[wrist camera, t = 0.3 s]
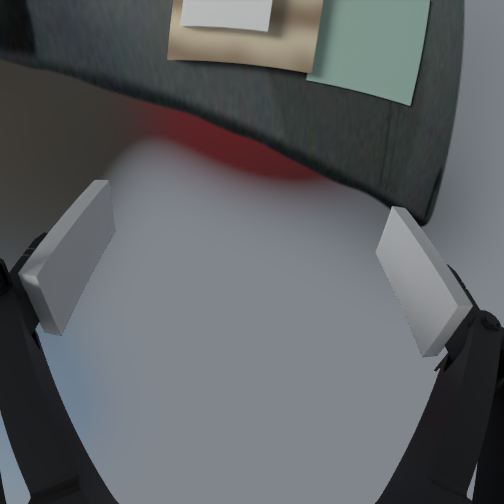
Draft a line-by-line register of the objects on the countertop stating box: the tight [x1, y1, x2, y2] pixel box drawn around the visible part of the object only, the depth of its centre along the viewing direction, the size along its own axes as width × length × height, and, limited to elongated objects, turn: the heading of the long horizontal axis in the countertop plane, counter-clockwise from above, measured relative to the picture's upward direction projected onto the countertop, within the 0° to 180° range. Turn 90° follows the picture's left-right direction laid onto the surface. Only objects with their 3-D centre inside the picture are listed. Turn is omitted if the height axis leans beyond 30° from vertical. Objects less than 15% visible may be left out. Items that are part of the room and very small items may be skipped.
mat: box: [306, 0, 430, 106], centre depth 29 cm, size 16×14×1 cm
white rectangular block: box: [180, 0, 272, 33], centre depth 25 cm, size 9×6×2 cm, turn 83°
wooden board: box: [167, 0, 323, 73], centre depth 27 cm, size 14×16×2 cm
